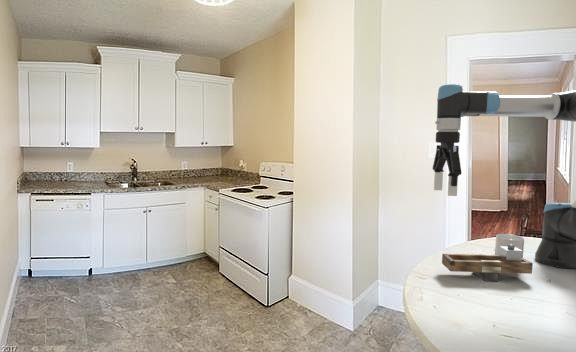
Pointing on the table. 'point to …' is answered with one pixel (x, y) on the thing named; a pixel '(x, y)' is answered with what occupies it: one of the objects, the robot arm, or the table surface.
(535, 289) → the table surface
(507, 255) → the white block with knob
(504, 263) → the beam
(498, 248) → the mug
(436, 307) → the table surface
